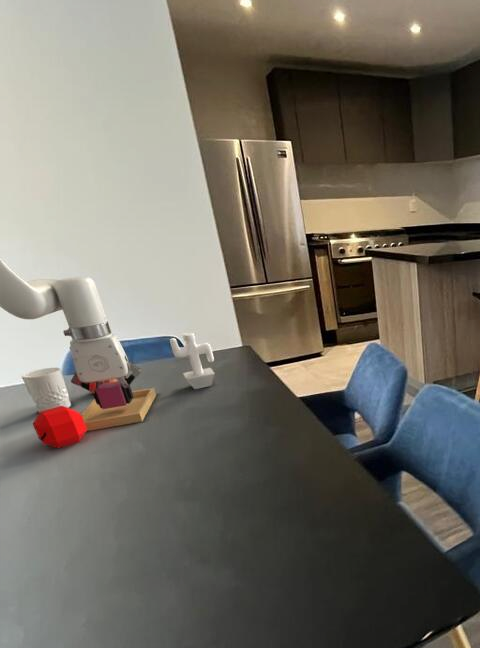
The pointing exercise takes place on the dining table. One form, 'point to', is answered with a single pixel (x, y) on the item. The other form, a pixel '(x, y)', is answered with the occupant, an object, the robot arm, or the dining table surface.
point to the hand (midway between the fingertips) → (116, 403)
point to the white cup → (47, 388)
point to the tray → (119, 411)
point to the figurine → (195, 360)
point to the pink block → (111, 395)
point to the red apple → (59, 426)
